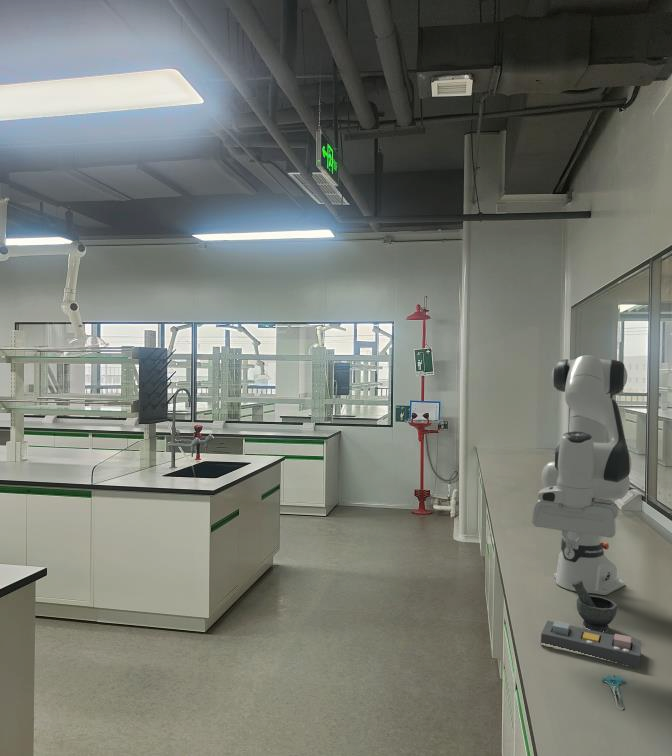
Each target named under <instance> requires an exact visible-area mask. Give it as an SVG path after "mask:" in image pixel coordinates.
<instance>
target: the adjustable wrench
mask: <svg viewBox="0 0 672 756" xmlns="http://www.w3.org/2000/svg"><path fill="white" fill-rule="evenodd" d="M602 680H603V681H607V682H608V683H609V684H610V685H611V687H612V686H616V687H617V688H618V692H619V695H620V698H621V697H622V694H621V690H620V686H619V685H620V684H621V683H622V684H624V683H626V684H627V681H626V680H625V679H624V678H622V677H620V676H619V675H615V674H613V677H612V676H611V675H610V674H608V675H606V676H605V677H602V679H601V681H602ZM608 683H607V684H608ZM612 683H613V684H612ZM609 684H608V685H609ZM622 684H621V685H622ZM610 685H609V686H610ZM611 687H610V688H611ZM617 688H616V689H617ZM612 689H613V687H612ZM619 690H620V691H619ZM613 695H614V693H613V694H612V696H613ZM614 696H615V695H614Z"/></svg>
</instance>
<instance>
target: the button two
mask: <svg viewBox="0 0 672 756" xmlns="http://www.w3.org/2000/svg"><path fill="white" fill-rule="evenodd" d="M614 635H615V636H614V646H616V647H620V648H625V649H629V650H630V648H631V639H632V636H628V635H624V634H619V633H614Z"/></svg>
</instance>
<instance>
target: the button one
mask: <svg viewBox="0 0 672 756" xmlns="http://www.w3.org/2000/svg"><path fill="white" fill-rule="evenodd" d="M582 639H585V640H589V641H594V642H598V643H599V639H600V635H596V634H591V633H587V632H584V634H583V637H582Z"/></svg>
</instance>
